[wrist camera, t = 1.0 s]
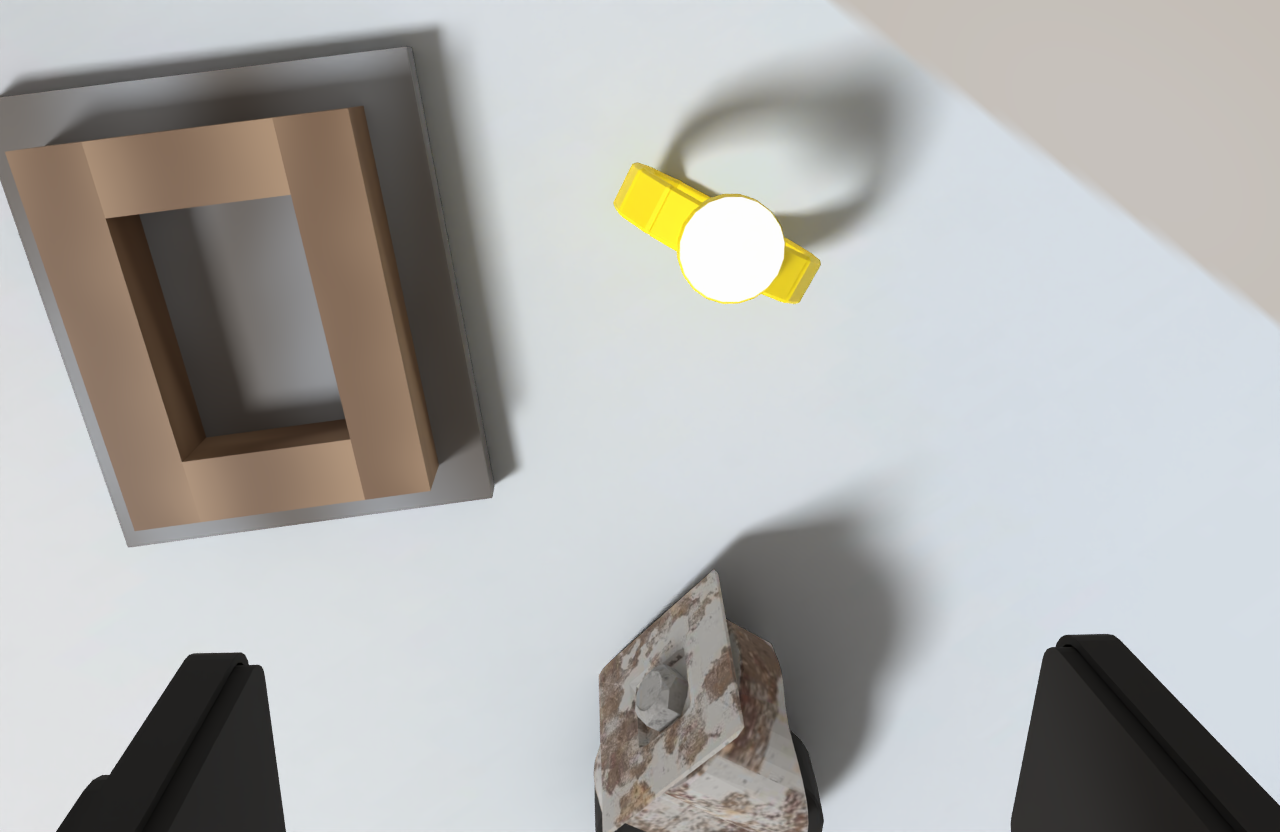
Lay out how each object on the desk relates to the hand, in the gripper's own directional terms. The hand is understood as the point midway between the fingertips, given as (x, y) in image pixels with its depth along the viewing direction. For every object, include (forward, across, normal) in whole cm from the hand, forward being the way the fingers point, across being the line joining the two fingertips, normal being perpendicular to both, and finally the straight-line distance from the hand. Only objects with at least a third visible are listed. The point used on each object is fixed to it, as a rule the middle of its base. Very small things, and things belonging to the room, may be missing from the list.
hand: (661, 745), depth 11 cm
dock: (+20, +11, 0) cm, 23 cm away
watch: (+21, -3, -3) cm, 21 cm away
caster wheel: (+21, -4, +16) cm, 27 cm away
